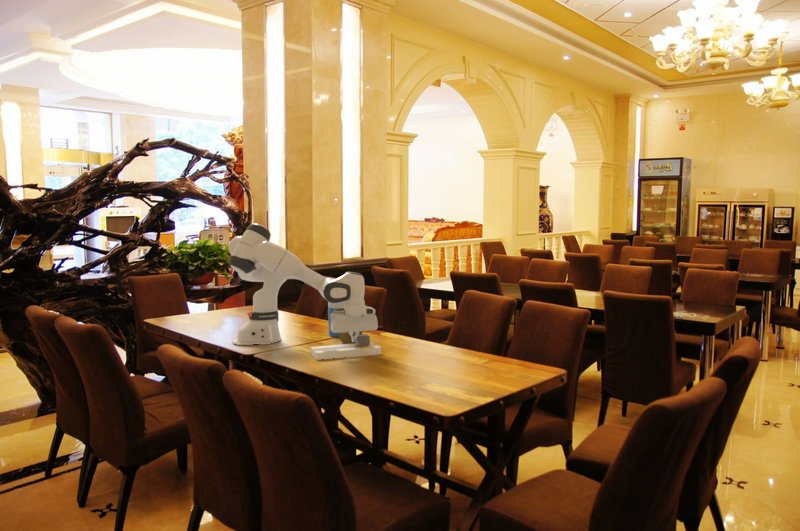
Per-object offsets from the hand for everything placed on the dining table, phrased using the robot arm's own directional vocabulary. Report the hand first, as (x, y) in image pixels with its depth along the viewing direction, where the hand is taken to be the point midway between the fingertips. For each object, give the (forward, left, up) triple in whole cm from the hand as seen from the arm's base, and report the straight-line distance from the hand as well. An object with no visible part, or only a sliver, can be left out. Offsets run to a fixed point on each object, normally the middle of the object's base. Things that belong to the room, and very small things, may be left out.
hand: (354, 341), depth 266 cm
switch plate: (-4, 0, -5) cm, 6 cm away
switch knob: (+4, 0, -3) cm, 5 cm away
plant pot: (+3, +18, -5) cm, 19 cm away
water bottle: (+3, +41, -5) cm, 42 cm away
